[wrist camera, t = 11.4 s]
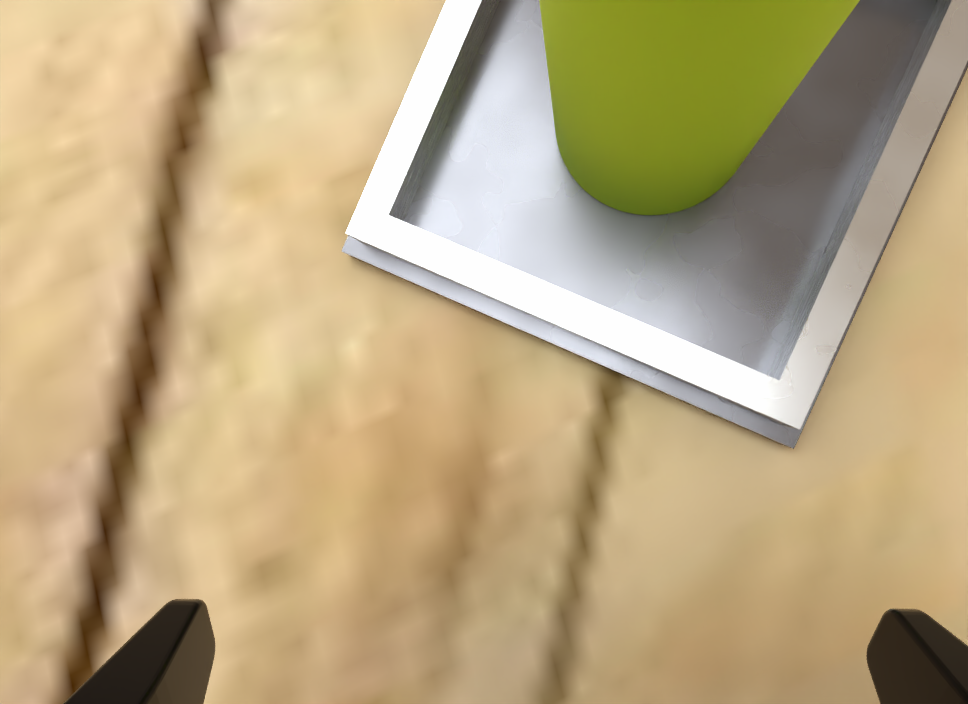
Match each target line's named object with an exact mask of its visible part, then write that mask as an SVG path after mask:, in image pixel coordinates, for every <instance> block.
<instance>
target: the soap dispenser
mask: <svg viewBox="0 0 968 704" xmlns="http://www.w3.org/2000/svg"><path fill="white" fill-rule="evenodd" d="M859 1H860V0H539V2H540V10H541V19H542V27H543V35H544V43H545V51H546V59H547V67H548V75H549V84H550V92H551V100H552V108H553V116H554V124H555V132H556V139H557V144H558V148H559V151H560V154H561V157H562V159H563V161H564V164H565V165H566V167H567V169H568V171H569V172H570V174H571V175H572V177H573V178H574V179H575V181H576V182H577V183H578V184H579V185H580V186H581V187H582V188H583V189H584V190H585V191H586V192H587V193H588V194H590V195H591V196H592V197H594V198H595V199H597V200H598V201H600V202H601V203H603V204H605V205H607V206H609V207H612V208H614V209H617V210H620V211H623V212H627V213H632V214H638V215H662V214H669V213H674V212H678V211H681V210H684V209H687V208H690V207H692V206H694V205H696V204H698V203H700V202H702V201H704V200H706V199H707V198H709V197H710V196H712V195H713V194H714V193H716V192H717V191H718V190H719V189H720V188H722V187H723V186H724V185H725V184H726V183H727V182H728V181H729V179H730V178H731V177H732V176H733V175H734V173H735V172H736V171H737V169H738V168H739V167H740V165H741V164H742V162H743V161H744V160H745V158H746V157H747V155H748V154H749V153H750V151H751V150H752V149H753V147H754V146H755V144H756V143H757V142H758V140H759V139H760V138H761V136H762V135H763V133H764V132H765V131H766V129H767V128H768V126H769V125H770V124H771V122H772V121H773V120H774V118H775V117H776V115H777V114H778V113H779V111H780V110H781V109H782V107H783V106H784V104H785V103H786V102H787V100H788V99H789V97H790V96H791V95H792V93H793V92H794V91H795V89H796V88H797V86H798V85H799V84H800V82H801V81H802V80H803V78H804V77H805V75H806V74H807V73H808V71H809V70H810V68H811V67H812V66H813V64H814V63H815V62H816V60H817V59H818V57H819V56H820V55H821V53H822V52H823V51H824V49H825V48H826V46H827V45H828V44H829V42H830V41H831V39H832V38H833V37H834V35H835V34H836V33H837V31H838V30H839V28H840V27H841V26H842V24H843V23H844V22H845V20H846V19H847V17H848V16H849V15H850V13H851V12H852V10H853V9H854V8H855V6H856V5H857V4H858V2H859Z"/></svg>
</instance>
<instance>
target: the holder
mask: <svg viewBox="0 0 968 704" xmlns="http://www.w3.org/2000/svg"><path fill="white" fill-rule="evenodd" d="M967 68H968V0H860V1H859V2H858V4H857V5H856V6H855V8H854V9H853V10H852V12H851V13H850V15H849V16H848V17H847V19H846V20H845V22H844V23H843V24H842V26H841V27H840V28H839V30H838V31H837V33H836V34H835V35H834V37H833V38H832V39H831V41H830V42H829V44H828V45H827V46H826V48H825V49H824V51H823V52H822V53H821V55H820V56H819V57H818V59H817V60H816V62H815V63H814V64H813V66H812V67H811V68H810V70H809V71H808V73H807V74H806V75H805V77H804V78H803V80H802V81H801V82H800V84H799V85H798V86H797V88H796V89H795V91H794V92H793V93H792V95H791V96H790V97H789V99H788V100H787V102H786V103H785V104H784V106H783V107H782V109H781V110H780V111H779V113H778V114H777V115H776V117H775V118H774V120H773V121H772V122H771V124H770V125H769V126H768V128H767V129H766V131H765V132H764V133H763V135H762V136H761V138H760V139H759V140H758V142H757V143H756V144H755V146H754V147H753V149H752V150H751V151H750V153H749V154H748V155H747V157H746V158H745V160H744V161H743V162H742V164H741V165H740V167H739V168H738V169H737V171H736V172H735V173H734V175H733V176H732V177H731V178H730V179H729V181H728V182H727V183H726V184H725V185H724V186H723V187H722V188H720V189H719V190H718V191H717V192H716V193H714V194H713V195H712V196H710V197H709V198H707V199H706V200H704V201H702V202H700V203H698V204H696V205H694V206H692V207H690V208H687V209H684V210H681V211H678V212H674V213H669V214H662V215H638V214H632V213H627V212H623V211H620V210H617V209H614V208H612V207H609V206H607V205H605V204H603V203H601V202H600V201H598V200H597V199H595V198H594V197H592V196H591V195H590V194H588V193H587V192H586V191H585V190H584V189H583V188H582V187H581V186H580V185H579V184H578V183H577V182H576V181H575V179H574V178H573V177H572V175H571V174H570V172H569V171H568V169H567V167H566V165H565V164H564V161H563V159H562V157H561V154H560V151H559V148H558V144H557V139H556V132H555V124H554V116H553V108H552V100H551V92H550V84H549V75H548V67H547V59H546V51H545V43H544V35H543V27H542V19H541V10H540V2H539V0H446V2H445V4H444V7H443V9H442V11H441V14H440V16H439V18H438V20H437V23H436V25H435V27H434V30H433V32H432V34H431V37H430V39H429V41H428V44H427V46H426V48H425V50H424V53H423V55H422V57H421V60H420V62H419V64H418V67H417V69H416V71H415V74H414V76H413V78H412V81H411V83H410V85H409V87H408V90H407V92H406V94H405V97H404V99H403V101H402V104H401V106H400V108H399V111H398V113H397V115H396V117H395V120H394V122H393V124H392V127H391V129H390V131H389V134H388V136H387V138H386V141H385V143H384V145H383V147H382V150H381V152H380V154H379V157H378V159H377V161H376V164H375V166H374V168H373V171H372V173H371V175H370V177H369V180H368V182H367V184H366V187H365V189H364V191H363V194H362V196H361V198H360V201H359V203H358V205H357V208H356V210H355V212H354V214H353V217H352V219H351V221H350V224H349V226H348V228H347V231H346V234H347V235H348V237H347V240H346V242H345V244H344V247H343V249H342V252H344V253H346V254H348V255H350V256H352V257H354V258H357V259H359V260H361V261H364V262H366V263H368V264H370V265H373V266H375V267H377V268H380V269H382V270H384V271H386V272H389V273H391V274H393V275H396V276H398V277H400V278H402V279H405V280H407V281H409V282H412V283H414V284H416V285H418V286H421V287H423V288H425V289H428V290H430V291H432V292H435V293H437V294H439V295H441V296H444V297H446V298H448V299H451V300H453V301H455V302H457V303H460V304H462V305H464V306H467V307H469V308H471V309H473V310H476V311H478V312H480V313H483V314H485V315H487V316H489V317H492V318H494V319H496V320H499V321H501V322H503V323H505V324H508V325H510V326H512V327H515V328H517V329H519V330H522V331H524V332H526V333H528V334H531V335H533V336H535V337H538V338H540V339H542V340H544V341H547V342H549V343H551V344H554V345H556V346H558V347H560V348H563V349H565V350H567V351H570V352H572V353H574V354H576V355H579V356H581V357H583V358H586V359H588V360H590V361H593V362H595V363H597V364H599V365H602V366H604V367H606V368H609V369H611V370H613V371H615V372H618V373H620V374H622V375H625V376H627V377H629V378H631V379H634V380H636V381H638V382H641V383H643V384H645V385H647V386H650V387H652V388H654V389H657V390H659V391H661V392H664V393H666V394H668V395H670V396H673V397H675V398H677V399H680V400H682V401H684V402H686V403H689V404H691V405H693V406H696V407H698V408H700V409H702V410H705V411H707V412H709V413H712V414H714V415H716V416H718V417H721V418H723V419H725V420H728V421H730V422H732V423H734V424H737V425H739V426H741V427H744V428H746V429H748V430H751V431H753V432H755V433H757V434H760V435H762V436H764V437H767V438H769V439H771V440H773V441H776V442H778V443H780V444H783V445H785V446H787V447H790V448H793V449H794V447H795V445H796V443H797V441H798V439H799V436H800V434H801V432H802V430H803V428H804V425H805V423H806V421H807V419H808V417H809V414H810V412H811V410H812V408H813V406H814V403H815V401H816V399H817V397H818V395H819V393H820V390H821V388H822V386H823V384H824V382H825V379H826V377H827V375H828V373H829V371H830V368H831V366H832V364H833V362H834V360H835V357H836V355H837V353H838V351H839V349H840V346H841V344H842V342H843V340H844V338H845V335H846V333H847V331H848V329H849V327H850V324H851V322H852V320H853V318H854V316H855V313H856V311H857V309H858V307H859V305H860V302H861V300H862V298H863V296H864V294H865V291H866V289H867V287H868V285H869V283H870V281H871V278H872V276H873V274H874V272H875V270H876V267H877V265H878V263H879V261H880V259H881V256H882V254H883V252H884V250H885V248H886V245H887V243H888V241H889V239H890V237H891V234H892V232H893V230H894V228H895V226H896V223H897V221H898V219H899V217H900V215H901V212H902V210H903V208H904V206H905V204H906V201H907V199H908V197H909V195H910V193H911V190H912V188H913V186H914V184H915V182H916V180H917V177H918V175H919V173H920V171H921V169H922V166H923V164H924V162H925V160H926V158H927V155H928V153H929V151H930V149H931V147H932V144H933V142H934V140H935V138H936V136H937V133H938V131H939V129H940V127H941V125H942V122H943V120H944V118H945V116H946V114H947V111H948V109H949V107H950V105H951V103H952V100H953V98H954V96H955V94H956V92H957V89H958V87H959V85H960V83H961V81H962V78H963V76H964V74H965V72H966V70H967Z"/></svg>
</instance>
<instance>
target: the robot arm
mask: <svg viewBox="0 0 968 704" xmlns="http://www.w3.org/2000/svg"><path fill="white" fill-rule="evenodd" d="M214 655H215V638H214V634H213V630H212V626H211V622H210V618H209V614H208V610H207V606H206V604H205V603H204V602H203V601H202V600H199V599H175V600H172V601H170V602H168V603H167V604H166V605H164V606H163V607H162V608H161V609H160V610H159V611H158V612H157V613H156V614H155V615H154V616H153V617H152V618H151V619H150V620H149V621H148V622H147V623H146V624H145V625H144V626H143V627H142V628H141V629H140V630H139V631H138V632H137V633H135V634H134V635H133V636H132V637H131V638H130V639H129V640H128V641H127V642H126V643H125V644H124V645H123V646H122V647H121V648H120V649H119V650H118V651H117V652H116V653H115V654H114V655H113V656H112V657H111V658H110V659H109V660H108V661H107V662H106V663H104V664H103V665H102V666H101V667H100V668H99V669H98V670H97V671H96V672H95V673H94V674H93V675H92V676H91V677H90V678H89V679H88V680H87V681H86V682H85V683H84V684H83V685H82V686H81V687H80V688H79V689H78V690H77V691H76V692H75V693H73V694H72V695H71V696H70V697H69V698H68V699H67V700H66V701H65V702H64V703H63V704H203V703H204V699H205V694H206V690H207V686H208V682H209V677H210V673H211V669H212V665H213V660H214ZM867 663H868V667H869V670H870V673H871V677H872V680H873V683H874V686H875V689H876V692H877V695H878V698H879V701H880V704H968V646H967V645H966V644H965V643H963V642H962V641H961V640H960V639H958V638H957V637H956V636H954V635H953V634H952V633H951V632H949V631H948V630H947V629H945V628H944V627H943V626H942V625H940V624H939V623H938V622H936V621H935V620H934V619H933V618H931V617H930V616H929V615H927V614H926V613H924V612H922V611H920V610H916V609H889V610H888V611H886V612H885V613H884V614H883V616H882V618H881V620H880V622H879V624H878V626H877V628H876V630H875V632H874V634H873V636H872V638H871V640H870V642H869V645H868V647H867Z"/></svg>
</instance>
